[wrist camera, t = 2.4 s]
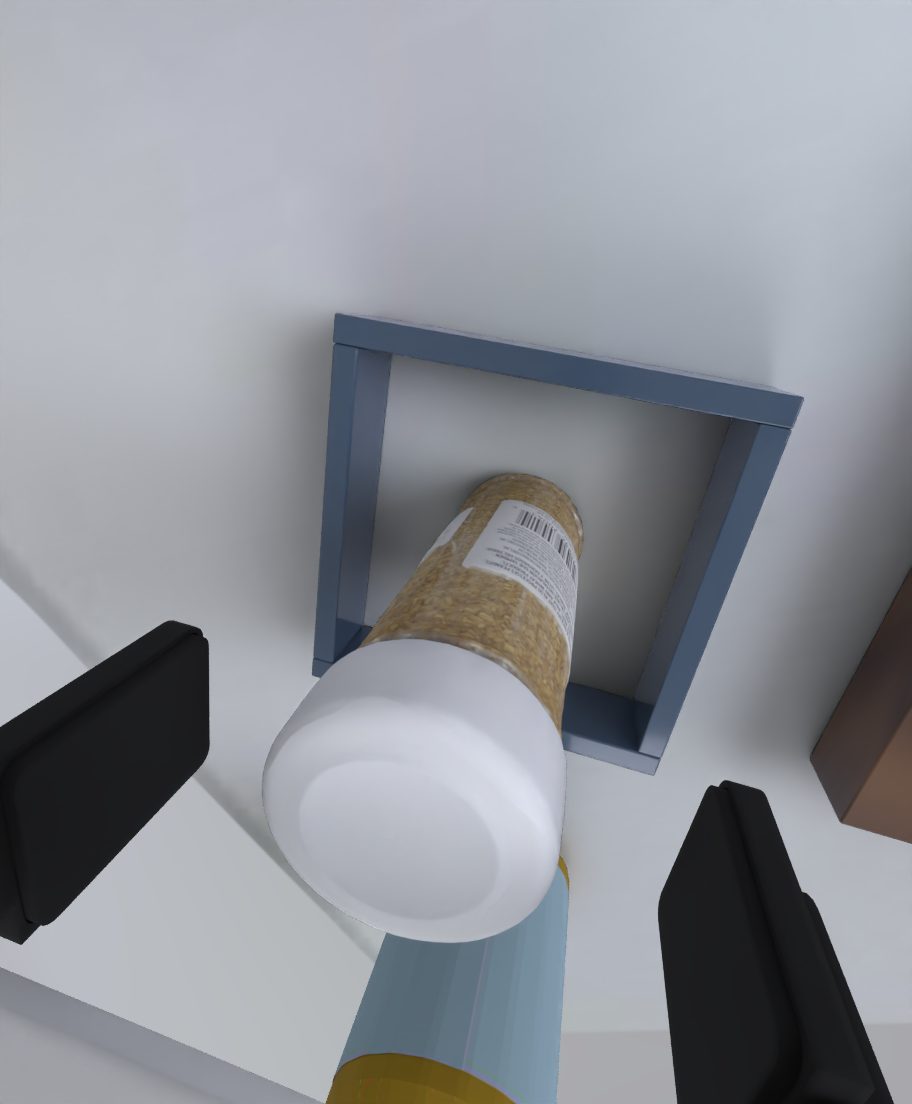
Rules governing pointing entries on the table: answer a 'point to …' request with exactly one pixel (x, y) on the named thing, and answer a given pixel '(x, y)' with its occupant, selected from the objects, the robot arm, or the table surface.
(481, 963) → the bottle
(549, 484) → the sprinkles bottle
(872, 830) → the counter board
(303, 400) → the table surface
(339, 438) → the blue square frame
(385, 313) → the table surface
